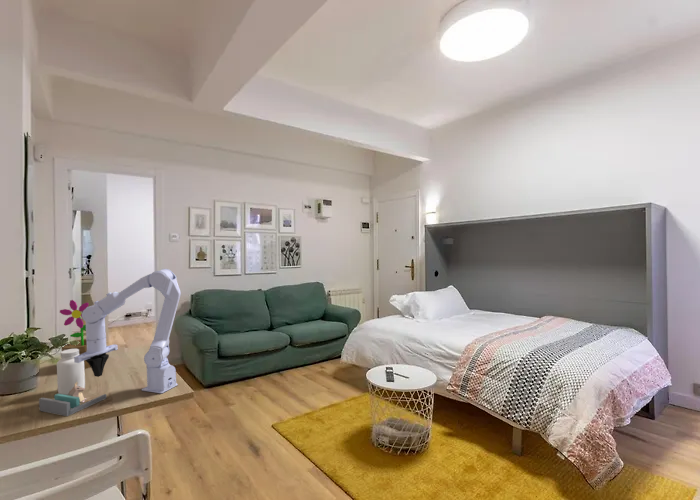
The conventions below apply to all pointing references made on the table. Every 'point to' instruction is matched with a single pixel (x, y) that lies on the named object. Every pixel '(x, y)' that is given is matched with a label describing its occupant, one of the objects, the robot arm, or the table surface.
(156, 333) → the robot arm
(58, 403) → the tray
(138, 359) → the table surface
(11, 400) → the table surface
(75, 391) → the mouse figurine
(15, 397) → the table surface
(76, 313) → the flowerpot
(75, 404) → the block
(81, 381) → the pill bottle
